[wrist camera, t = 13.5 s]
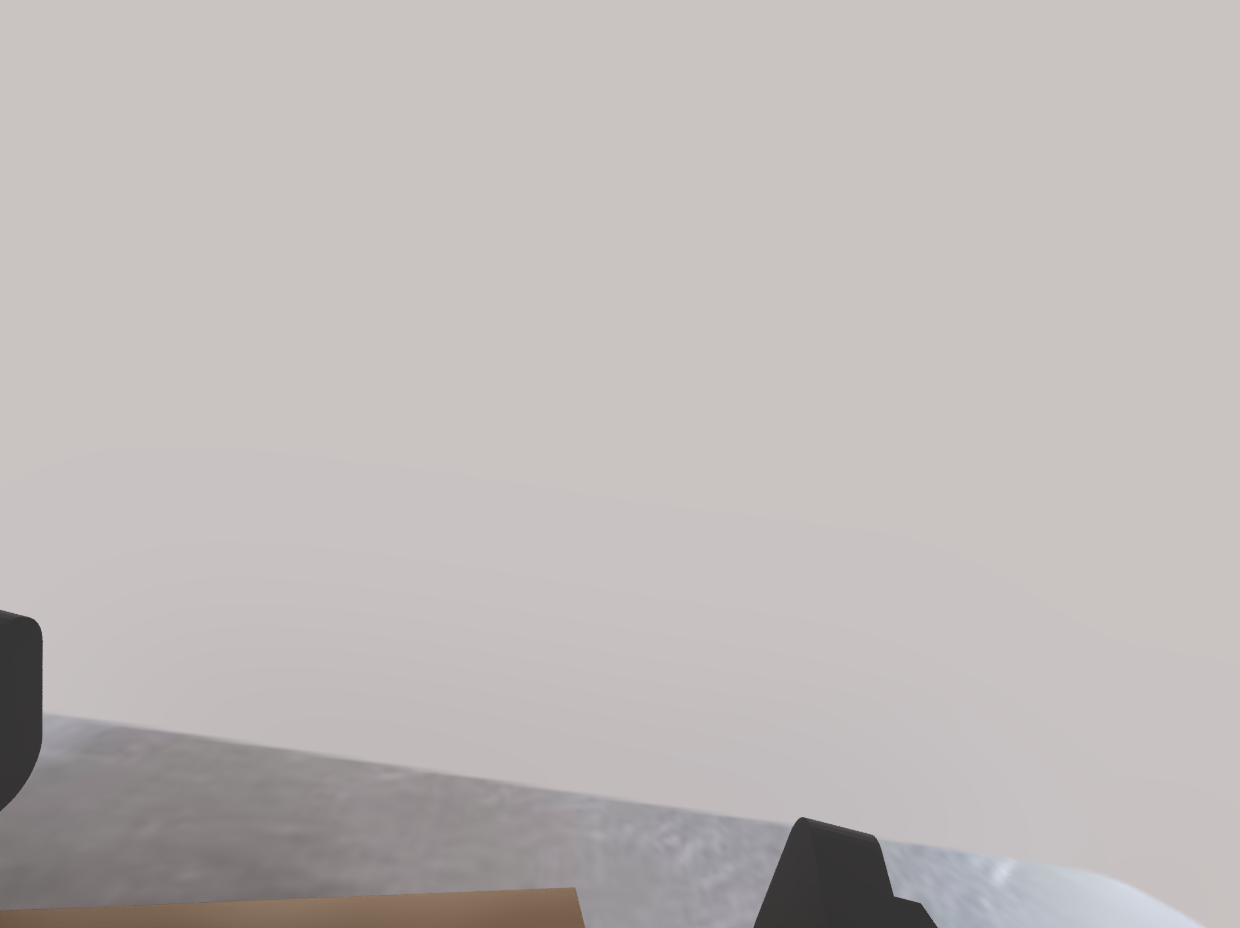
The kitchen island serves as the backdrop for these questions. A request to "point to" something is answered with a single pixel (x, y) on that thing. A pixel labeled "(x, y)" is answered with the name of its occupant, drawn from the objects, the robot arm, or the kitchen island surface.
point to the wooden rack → (329, 912)
